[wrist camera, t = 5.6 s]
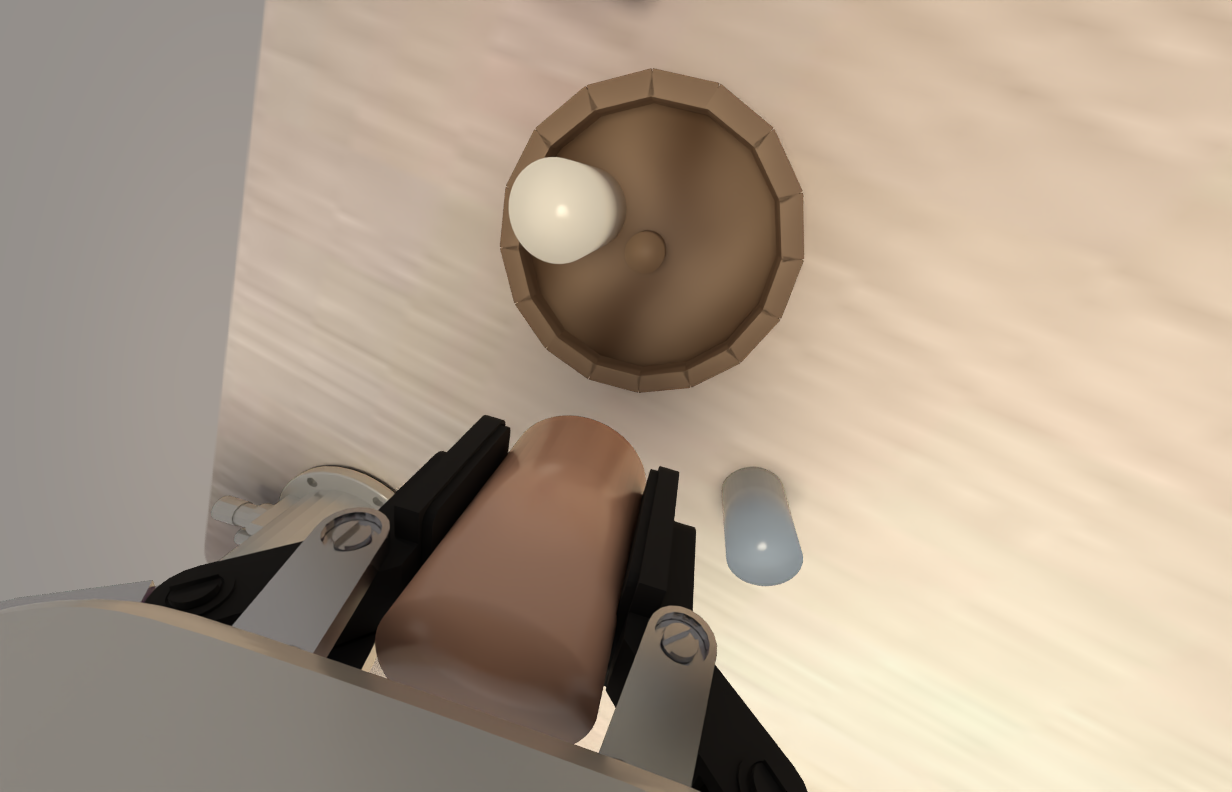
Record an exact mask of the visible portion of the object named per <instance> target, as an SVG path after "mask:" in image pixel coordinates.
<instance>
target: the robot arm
mask: <svg viewBox="0 0 1232 792" xmlns="http://www.w3.org/2000/svg"><path fill="white" fill-rule="evenodd" d="M509 439H510V427H507V426H505V421H504V420H501V419H498V418H494V417H491V416H488V415H484V416H482V417H481V418H480V419H479V420H478V421H477V422H476V423H475V424H474V425H473V426H472V427H471V428H470V429H469V430H468V431H467V432H466V433H465V434H464V435H463V437H462V438H461V439H460V440H459V441H458V442H457V443H456V444H455V445H454V446H453V447H452V448H451V449H450V450H449V451H448V452H444V451H440V452H438V453H437V454H435V455H434V456H433V457H432V458H431V459H430V460H429V461H428V462H427V463H426V464H425V465H424V466H423V467H422V468H421V469H420V470H419V471H418V472H417V473H416V474H415V475H413V476H412V477H411V478H410V479H409V480H408V481H407V482H406V483H405V484H404V485H403V486H402V487H401V488H400V489H399V490H398V491H397V492H396V493H394V492H393V491H392V490H390V489H389V488H387V487H386V486H385V485H383V484H382V483H380V482H379V481H377V480H375V479H373V478H371V477H369V476H368V475H365V474H362V473H360V472H357V471H355V470H351V469H347V468H342V467H335V466H322V467H316V468H312V469H309V470H307V471H305V472H303V473H301V474H300V475H298V476H297V477H296V478H294V479H293V480H291V481H290V482H289V483H288V484H287V485H286V486H285V487H284V489H283V491H282V493H281V495H280V498H279V502H278V503H277V504H275V505H273V504H270V503H266V504H262V505H260V506H258V505H254V504H253V503H251V502H249V501H245V500H242V499H239V498H236V497H232V496H225V497H223V498H221V499H219V500H218V501H217V502H216V503H215V505H214V506H213V508H212V511H211V516H212V517H213V518H214V519H215V520H218V521H221V522H225V523H228V524H231V525H234V526H242V527H244V528H242V529H240V530H239V531H238V532H237V533H236V535H235V537H234V542H235V543H236V544H239V546H237V547H236V548H235V549H234V550H232V551H231V552H230V553H228V554H227V555H226V556H224V557H223V558H222V559H220V560H219V561H217V562H213V563H209V564H205V565H200V566H197V567H194V568H191V569H188V570H185V571H183V572H181V573H179V574H177V575H175V576H173V577H171V578H169V579H168V580H166V581H165V582H163V583H162V584H161V585H159V586H155V585H154V582H153V580H151V581H143V582H135V583H127V584H120V585H112V586H104V587H96V588H89V589H81V590H73V591H66V592H58V593H50V594H42V595H36V596H27V597H19V598H15V599H11V600H6V601H2V602H0V792H807V789H806V786H805V784H804V781H803V780H802V778H801V777H800V775H799V774H798V772H797V770H796V769H795V767H794V766H793V765H792V763H791V762H790V761H789V759H788V758H787V757H786V756H785V754H784V753H783V752H782V750H781V749H780V748H779V747H778V745H777V744H776V743H775V741H774V740H773V739H772V737H771V736H770V735H769V734H768V732H767V731H766V730H765V728H764V727H763V726H762V725H761V723H760V722H759V721H758V719H757V718H756V717H755V716H754V714H753V713H752V712H751V710H750V709H749V708H748V707H747V705H746V704H745V703H744V701H743V700H742V699H741V697H740V696H739V695H738V694H737V692H736V691H735V690H734V688H733V687H732V686H731V685H730V683H729V682H728V681H727V679H726V678H725V677H724V676H723V674H722V673H721V672H720V670H719V669H718V668H717V666H716V665H715V661H716V656H717V643H716V640H715V636H714V633H713V632H712V630H711V629H710V627H709V625H708V624H707V623H706V622H705V621H704V620H703V619H702V618H701V617H700V616H699V615H698V614H696V613H694V612H693V590H694V567H695V543H696V529H695V527H692V526H688V525H685V524H682V523H678V522H675V521H674V516H675V507H676V498H677V489H678V480H679V472H678V471H675V470H671V469H668V468H664V467H661V466H660V467H659V469H658V471H656V470H652V469H651V470H650V473H649V476H648V479H647V482H646V486H645V489H644V492H643V496H642V500H641V505H640V509H639V514H638V518H637V523H636V527H635V532H634V536H633V541H632V545H631V550H630V554H629V559H628V563H627V568H626V572H625V577H624V582H623V586H622V591H621V595H620V600H619V604H618V609H617V613H616V615H617V624H616V630H615V635H614V640H613V644H612V649H611V654H610V658H609V663H608V668H607V672H606V677H605V682H604V686H606V692H607V693H608V695H609V697H610V699H611V701H612V702H613V704H614V706H615V711H614V714H613V716H612V719H611V722H610V724H609V727H608V730H607V732H606V735H605V738H604V740H603V743H602V746H601V748H600V751H599V753H597V752H594V751H591V750H588V749H586V748H583V747H580V746H577V745H574V744H571V743H569V742H566V741H563V740H560V739H557V738H555V737H552V736H549V735H546V734H543V733H540V732H538V731H535V730H532V729H529V728H526V727H524V726H521V725H518V724H515V723H512V722H509V721H507V720H504V719H501V718H498V717H495V716H492V715H490V714H487V713H484V712H481V711H478V710H475V709H472V708H470V707H467V706H464V705H461V704H458V703H455V702H452V701H450V700H447V699H444V698H441V697H438V696H435V695H432V694H429V693H427V692H424V691H421V690H418V689H415V688H412V687H409V686H406V685H404V684H401V683H398V682H395V681H392V680H389V679H386V678H383V677H381V676H378V675H375V674H372V673H369V672H370V670H371V668H372V666H373V664H374V662H375V660H376V658H377V654H376V648H375V635H376V631H377V628H378V625H379V623H380V622H381V620H382V618H383V617H384V616H385V614H386V613H387V612H388V610H389V609H390V608H391V606H392V605H393V604H394V602H395V601H396V600H397V598H398V597H399V596H400V595H401V593H402V592H403V591H404V589H405V588H406V587H407V585H408V584H409V583H410V581H411V580H412V579H413V577H414V576H415V575H416V574H417V572H418V571H419V570H420V568H421V567H422V566H423V564H424V563H425V562H426V560H427V559H428V558H429V556H430V555H431V554H432V553H433V551H434V550H435V549H436V547H437V546H438V545H439V543H440V542H441V541H442V539H443V538H444V537H445V535H446V534H447V533H448V532H449V530H450V529H451V528H452V526H453V525H454V524H455V522H456V521H457V520H458V518H459V517H460V516H461V514H462V513H463V512H464V511H465V509H466V508H467V507H468V505H469V504H470V503H471V501H472V500H473V499H474V497H475V496H476V495H477V493H478V492H479V491H480V490H481V488H482V487H483V486H484V484H485V483H486V482H487V480H488V479H489V478H490V476H491V475H492V474H493V472H494V471H495V470H496V469H497V467H498V466H499V465H500V463H501V462H502V461H503V459H504V458H505V457H506V455H507V454H508V447H509Z"/></svg>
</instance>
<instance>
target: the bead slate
mask: <svg viewBox="0 0 1232 792" xmlns="http://www.w3.org/2000/svg"><path fill="white" fill-rule="evenodd" d="M722 506H723V519H724V533H725V547H726V559H727V564H728V566H729V568H730V570H731V571H732V572H733V573H734V574H735V575H736V576H737V577H738V578H740V579H741V580H743V581H745V582H747V583H750V584H754V585H759V586H772V585H778V584H781V583H784V582H786V581H788V580H790V579H791V578H793V577H794V576H795V575H796V574H797V573H798V572H799V570H800V568H801V566H802V563H803V554H802V551H801V547H800V544H799V540H798V537H797V533H796V530H795V526H794V523H793V519H792V516H791V512H790V509H789V505H788V502H787V498H786V495H785V492H784V488H783V485H782V483H781V481H780V479H779V478H778V477H777V476H776V475H775V474H773V473H772V472H770V471H768V470H766V469H763V468H757V467H748V468H743V469H740V470H737V471H735V472H733V473H732V474H731V475H729V476H728V477H727V479H726V480H725V481H724V483H723V486H722Z"/></svg>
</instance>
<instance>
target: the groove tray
mask: <svg viewBox="0 0 1232 792" xmlns="http://www.w3.org/2000/svg"><path fill="white" fill-rule="evenodd" d="M718 86H719V83H716V82H712V81H707V80H703V79H699V78H694V77H690V76H685V75H681V74H676V73H672V72H667V71H663V70H658V69H654V68H653V72H652V69H647V70H643V71H640V72H636V73H632V74H628V75H624V76H620V77H617V78H613V79H609V80H605V81H601V82H597V83H594V84H590V85H587V87H586V86H585V87H584V88H582V89H581V90H580V91H579V92H578V93H577V94H575V95H574V96H573V97H572V98H571V99H569V100H568V101H567V102H566V103H565V104H563V105H562V106H561V107H560V108H559V109H558V110H556V111H555V112H554V113H553V114H552V115H550V116H549V117H548V118H547V119H546V120H544V121H543V122H542V123H541V124H540V125H539V126H537V127H536V130H534V131H533V133H532V135H531V137H530V139H529V141H528V143H527V145H526V147H525V149H524V151H523V153H522V155H521V157H520V159H519V161H518V163H517V165H516V167H515V169H514V171H513V173H512V175H511V177H510V179H509V181H508V183H507V185H506V186H507V187H506V189H505V199H504V210H503V220H502V230H501V241H500V247H502V248H500V250H501V254H502V258H503V262H504V265H505V269H506V273H507V277H508V281H509V284H510V288H511V292H512V296H513V300H514V303H516V304H515V305H516V306H517V308H518V309H519V311H520V312H521V314H522V315H523V317H524V318H525V320H526V321H527V322H528V324H529V325H530V327H531V328H532V330H533V331H534V333H535V334H536V336H537V337H538V338H539V340H540V341H541V343H542V344H543V346H544V347H545V348H546V347H547V350H548V351H549V352H551V353H552V354H554V355H555V356H556V357H558V358H559V359H561V360H562V361H563V362H565V363H566V364H568V365H569V366H570V367H572V368H573V369H575V370H576V371H577V372H579V373H580V374H582V375H583V376H584V377H586V378H587V379H588V378H589V380H593V381H597V382H600V383H604V384H608V385H611V386H615V387H619V388H622V389H626V390H630V391H634V392H637V393H638V390H639V393H641V392H652V391H662V390H673V389H683V388H690V386H691V387H693V386H695V385H697V384H699V383H701V382H703V381H705V380H707V379H709V378H711V377H714V376H716V375H718V374H720V373H722V372H724V371H726V370H728V369H730V368H732V367H734V366H736V365H738V364H740V362H742V361H743V360H744V359H745V358H746V357H747V356H748V354H749V353H750V352H751V351H752V350H753V349H754V348H755V347H756V346H757V345H758V344H759V342H760V341H761V340H762V339H763V338H764V337H765V336H766V335H767V334H768V333H769V332H770V331H771V329H772V328H773V327H774V326H775V325H776V324H777V323H778V322H779V321H780V319H779V318H781V317H782V315H783V312H784V310H785V307H786V305H787V302H788V300H789V297H790V294H791V292H792V289H793V287H794V284H795V282H796V279H797V276H798V274H799V271H800V269H801V266H802V264H803V260H802V259H804V225H803V193H800V192H802V189H801V186H800V184H799V182H798V180H797V178H796V175H795V173H794V171H793V169H792V167H791V165H790V162H789V160H788V158H787V156H786V154H785V151H784V149H783V147H782V145H781V143H780V140H779V138H778V136H777V134H776V132H775V129H774V130H773V131H771V130H772V129H773V127H772V126H771V125H769V124H768V123H767V122H766V121H765V120H763V119H762V118H761V117H760V116H759V115H757V114H756V113H755V112H754V111H753V110H751V109H750V108H749V107H748V106H747V105H745V104H744V103H743V102H742V101H741V100H739V99H738V98H737V97H736V96H735V95H733V94H732V93H731V92H730V91H729V90H727V89H726V88H725V87H724V86H723V85H721V84H720V86H719V87H718ZM770 131H771V132H770ZM548 157H559V158H565V159H568V160H572V161H575V162H579V163H583V164H586V165H590V166H593V167H597V168H600V169H602V170H604V171H606V172H608V173H609V174H610V175H612V176H613V177H614V178H615V179H616V181H617V182H618V183H619V185H620V186H621V188H622V190H623V193H624V196H625V200H626V218H625V222H624V225H623V227H622V229H621V231H620V233H619V234H618V235H617V237H616V238H615V239H614V240H612V241H611V242H610V243H608V244H607V245H605V246H603V247H601V248H599V249H597V250H595V251H593V252H592V253H590V254H588V255H586V256H584V257H582V258H580V259H578V260H576V261H573V262H570V263H565V264H553V263H548V262H545V261H542V260H540V259H538V258H536V257H535V256H533V255H532V254H531V253H529V252H528V251H527V250H526V249H525V248H524V247H523V246H522V244H521V243H520V242H519V240H518V239H517V237H516V235H515V233H514V231H513V229H512V225H511V222H510V217H509V197H510V193H511V189H512V186H513V184H514V182H515V180H516V178H517V177H518V175H519V174H520V173H521V172H522V170H524V169H525V168H526V167H527V166H528V165H530V164H531V163H533V162H535V161H537V160H539V159H543V158H548ZM517 302H518V303H517ZM739 361H740V362H739ZM589 376H590V377H589Z"/></svg>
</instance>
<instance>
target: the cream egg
mask: <svg viewBox="0 0 1232 792" xmlns="http://www.w3.org/2000/svg"><path fill="white" fill-rule="evenodd" d="M509 217H510V222H511V225H512V229H513V231H514V233H515V235H516V237H517V239H518V240H519V242H520V243H521V244H522V246H523V247H524V248H525V249H526V250H527V251H528V252H529V253H531V254H532V255H533V256H535V257H536V258H538V259H540V260H542V261H545V262H548V263H553V264H565V263H570V262H573V261H576V260H578V259H580V258H582V257H584V256H586V255H588V254H590V253H592V252H593V251H595V250H597V249H599V248H601V247H603V246H605V245H607V244H608V243H610V242H611V241H612V240H614V239H615V238H616V237H617V235H618V234H619V233H620V231H621V229H622V227H623V225H624V222H625V218H626V200H625V196H624V193H623V190H622V188H621V186H620V185H619V183H618V182H617V181H616V179H615V178H614V177H613V176H612V175H610V174H609V173H608V172H606V171H604V170H602V169H600V168H597V167H593V166H590V165H586V164H583V163H579V162H575V161H572V160H568V159H565V158H559V157H548V158H543V159H539V160H537V161H535V162H533V163H531V164H530V165H528V166H527V167H526V168H525V169H524V170H522V172H521V173H520V174H519V175H518V177H517V178H516V180H515V182H514V184H513V186H512V189H511V193H510V197H509Z"/></svg>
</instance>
